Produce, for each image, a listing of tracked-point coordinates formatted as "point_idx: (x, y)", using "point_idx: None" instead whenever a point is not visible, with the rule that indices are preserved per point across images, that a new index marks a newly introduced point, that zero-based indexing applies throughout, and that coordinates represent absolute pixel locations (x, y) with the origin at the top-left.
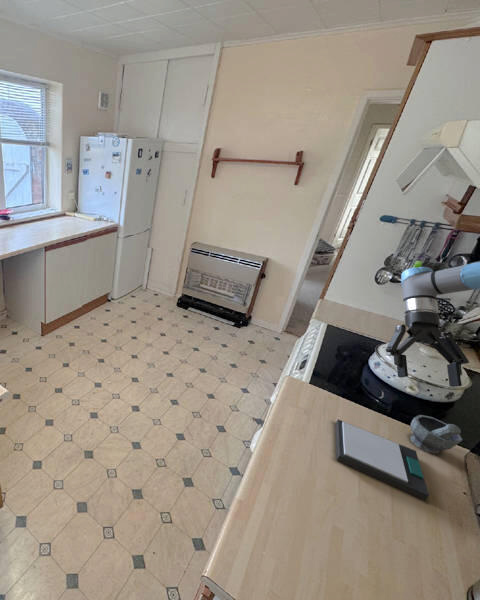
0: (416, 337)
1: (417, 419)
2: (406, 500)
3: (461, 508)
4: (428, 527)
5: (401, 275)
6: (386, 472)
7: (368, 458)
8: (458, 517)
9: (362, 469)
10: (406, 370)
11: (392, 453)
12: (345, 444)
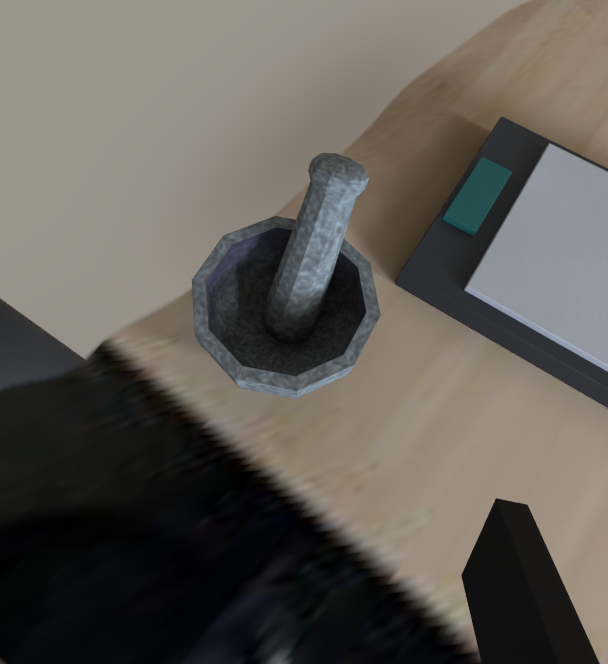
0: None
1: (349, 350)
2: (547, 135)
3: (393, 121)
4: (538, 79)
5: None
6: (601, 171)
7: None
8: (428, 101)
9: None
10: (533, 564)
11: (529, 240)
12: None
